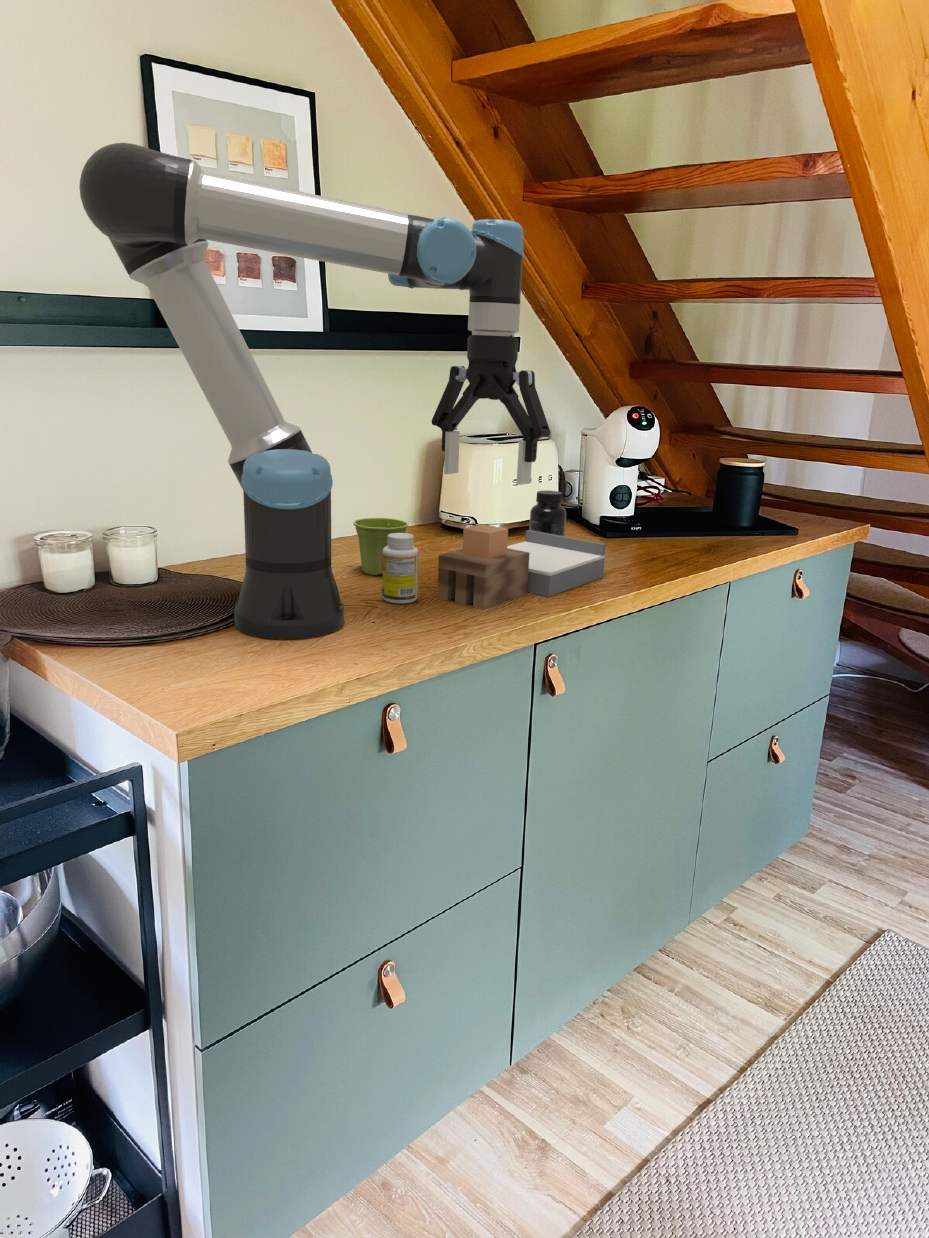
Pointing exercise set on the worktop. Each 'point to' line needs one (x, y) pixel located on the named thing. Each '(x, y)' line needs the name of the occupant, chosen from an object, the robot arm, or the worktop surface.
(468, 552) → the terracotta orange block
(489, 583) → the pallet
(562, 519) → the supplement bottle
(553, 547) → the platform
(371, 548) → the plant pot
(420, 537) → the worktop surface
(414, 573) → the supplement bottle
